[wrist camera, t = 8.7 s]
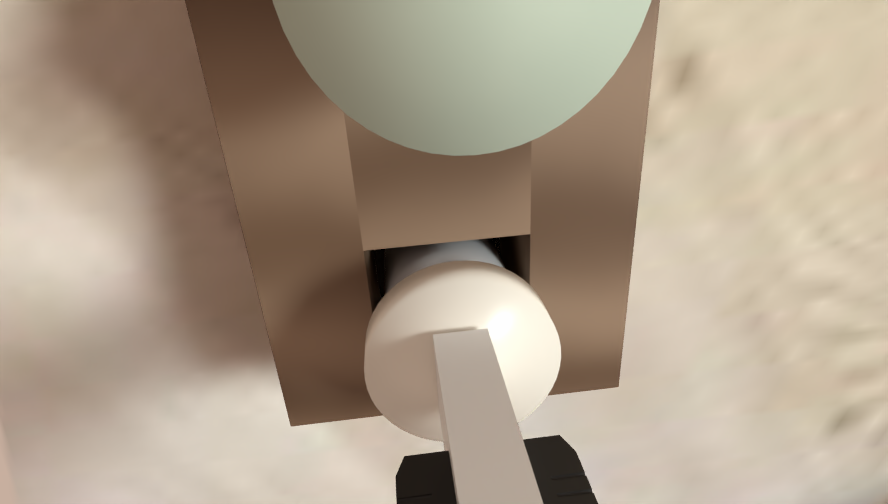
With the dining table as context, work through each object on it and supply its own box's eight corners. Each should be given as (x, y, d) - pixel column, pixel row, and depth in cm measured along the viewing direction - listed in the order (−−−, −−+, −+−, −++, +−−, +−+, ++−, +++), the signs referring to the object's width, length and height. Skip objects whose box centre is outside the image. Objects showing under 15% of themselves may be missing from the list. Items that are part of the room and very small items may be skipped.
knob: (509, 309, 23) (557, 429, 17) (377, 323, 22) (376, 452, 16) (508, 184, 20) (565, 271, 14) (360, 198, 20) (350, 293, 14)
